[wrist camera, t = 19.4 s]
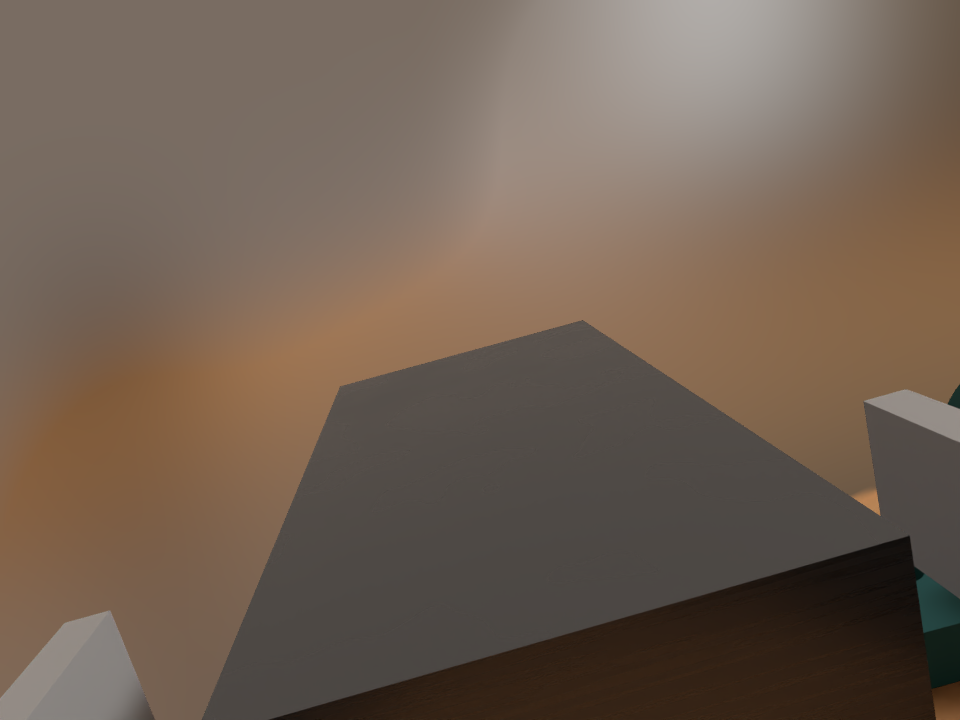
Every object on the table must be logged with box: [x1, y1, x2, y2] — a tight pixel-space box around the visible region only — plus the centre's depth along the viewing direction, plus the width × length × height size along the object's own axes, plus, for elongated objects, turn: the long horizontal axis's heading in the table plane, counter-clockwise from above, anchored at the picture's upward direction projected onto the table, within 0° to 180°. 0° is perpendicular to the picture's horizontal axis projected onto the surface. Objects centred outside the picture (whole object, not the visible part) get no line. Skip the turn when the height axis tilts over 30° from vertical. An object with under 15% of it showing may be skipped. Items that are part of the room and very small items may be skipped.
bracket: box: [914, 385, 960, 689], centre depth 26 cm, size 18×7×8 cm, turn 94°
